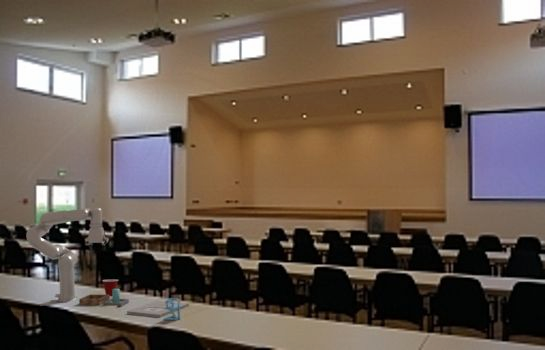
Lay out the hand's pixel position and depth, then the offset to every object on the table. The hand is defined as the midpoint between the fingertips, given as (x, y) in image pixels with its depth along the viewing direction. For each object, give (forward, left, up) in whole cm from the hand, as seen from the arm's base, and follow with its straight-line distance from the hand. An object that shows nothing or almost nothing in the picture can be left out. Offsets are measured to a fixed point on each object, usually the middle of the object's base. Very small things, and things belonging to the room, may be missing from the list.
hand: (97, 250), depth 364 cm
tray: (+21, -16, -33) cm, 42 cm away
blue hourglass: (+72, -49, -34) cm, 93 cm away
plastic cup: (+6, +7, -34) cm, 35 cm away
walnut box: (+6, -16, -33) cm, 37 cm away
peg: (+21, -16, -32) cm, 42 cm away
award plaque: (+55, -28, -34) cm, 70 cm away
